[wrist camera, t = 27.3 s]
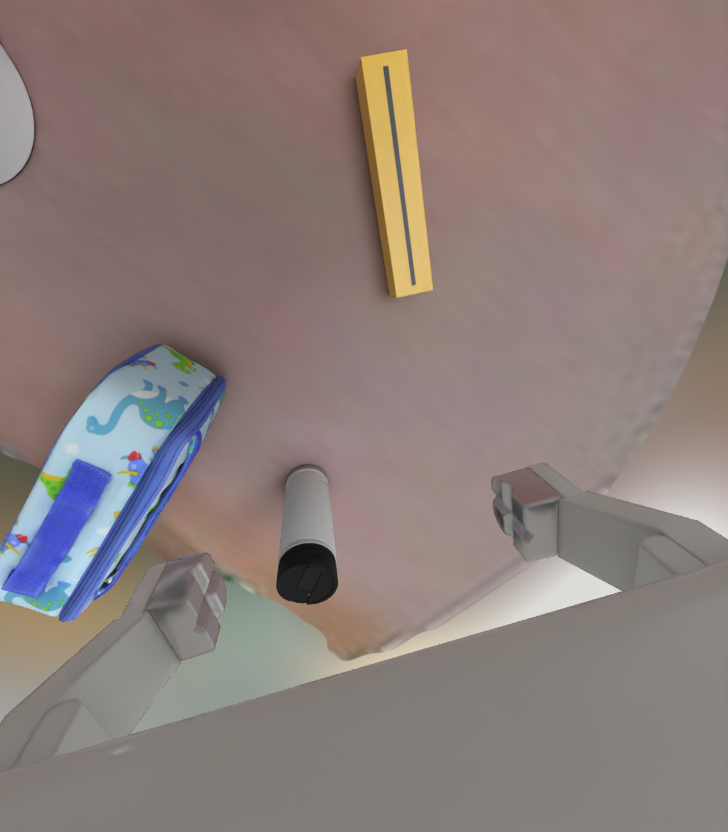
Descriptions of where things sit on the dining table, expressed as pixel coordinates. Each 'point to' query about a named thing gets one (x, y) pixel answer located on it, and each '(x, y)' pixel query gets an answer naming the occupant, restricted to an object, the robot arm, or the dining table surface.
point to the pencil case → (395, 170)
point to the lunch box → (107, 481)
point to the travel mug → (307, 539)
